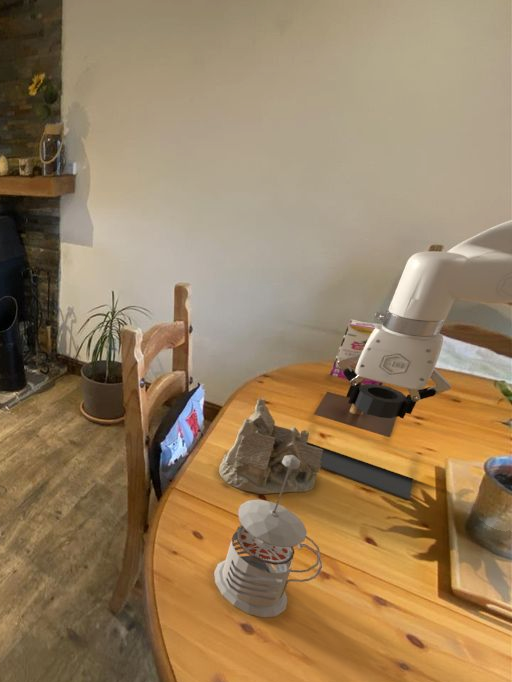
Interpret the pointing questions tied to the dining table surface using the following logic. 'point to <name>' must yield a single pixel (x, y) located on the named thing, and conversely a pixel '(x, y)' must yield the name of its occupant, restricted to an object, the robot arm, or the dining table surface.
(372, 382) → the candy bar box
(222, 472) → the ceramic cottage
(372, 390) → the tape roll
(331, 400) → the tape stand
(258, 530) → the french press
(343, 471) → the felt mat
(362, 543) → the dining table surface
